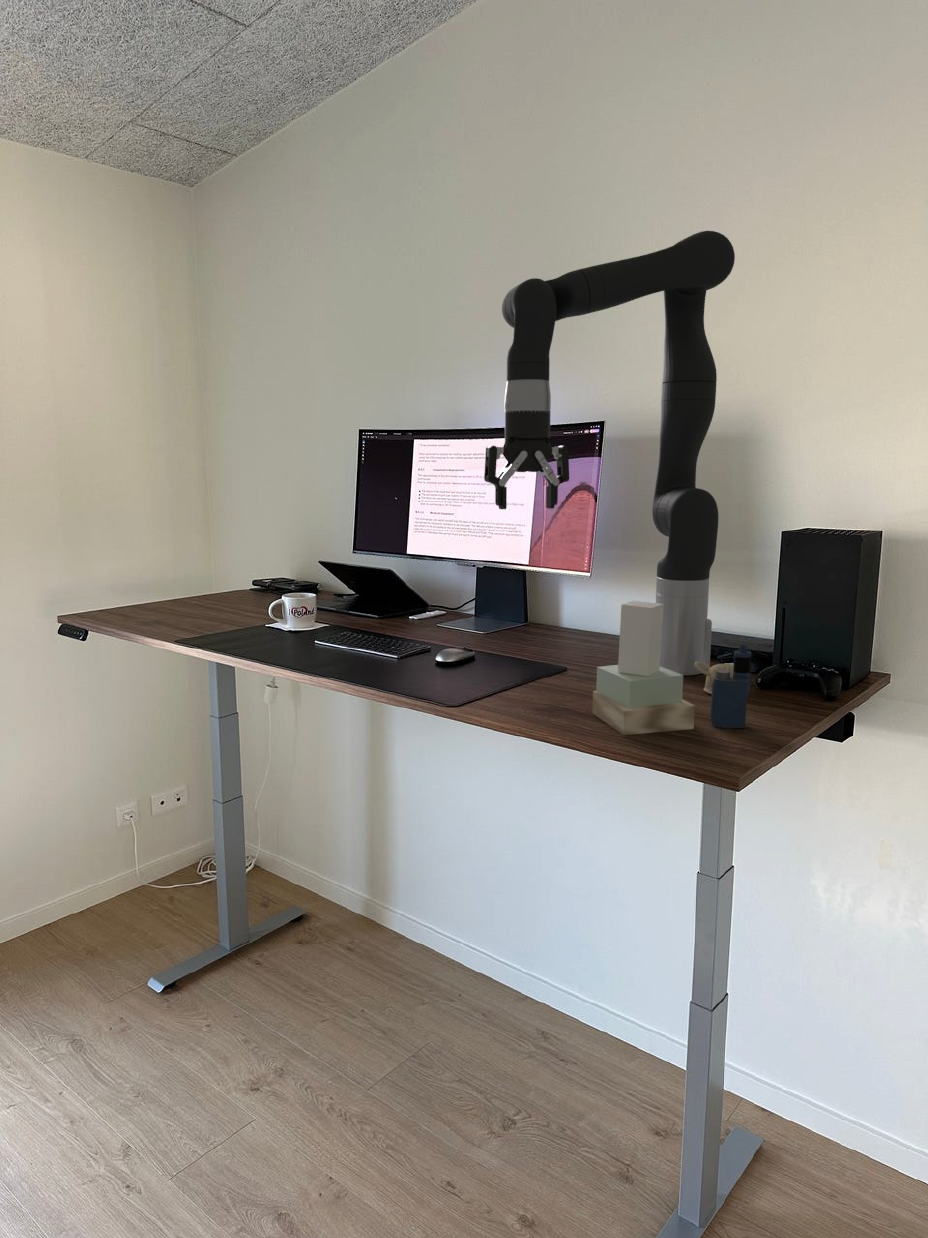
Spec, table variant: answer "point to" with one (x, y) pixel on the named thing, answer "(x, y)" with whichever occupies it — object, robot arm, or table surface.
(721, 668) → the decorative ornament
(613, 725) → the base block
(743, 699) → the vaping device
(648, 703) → the top block
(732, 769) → the table surface
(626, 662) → the white block
